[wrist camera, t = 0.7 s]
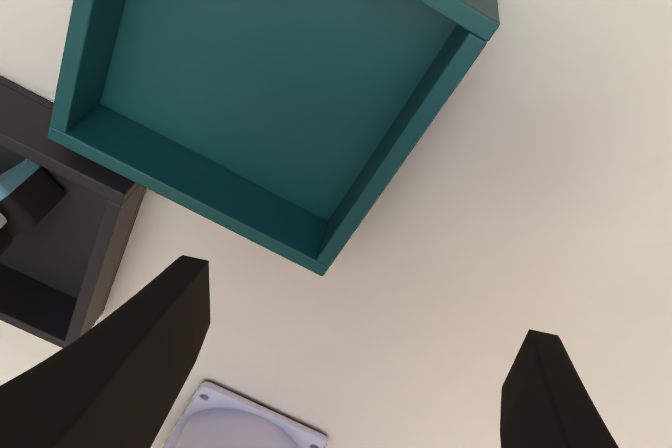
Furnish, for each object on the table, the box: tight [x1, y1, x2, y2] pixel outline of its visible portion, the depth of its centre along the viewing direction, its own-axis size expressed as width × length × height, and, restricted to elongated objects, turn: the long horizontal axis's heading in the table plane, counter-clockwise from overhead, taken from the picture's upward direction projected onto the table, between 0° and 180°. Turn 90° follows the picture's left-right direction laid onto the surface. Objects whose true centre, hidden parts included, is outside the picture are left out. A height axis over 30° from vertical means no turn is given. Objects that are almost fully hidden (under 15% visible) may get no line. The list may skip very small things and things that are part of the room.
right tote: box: [48, 0, 500, 276], centre depth 19 cm, size 11×11×3 cm
